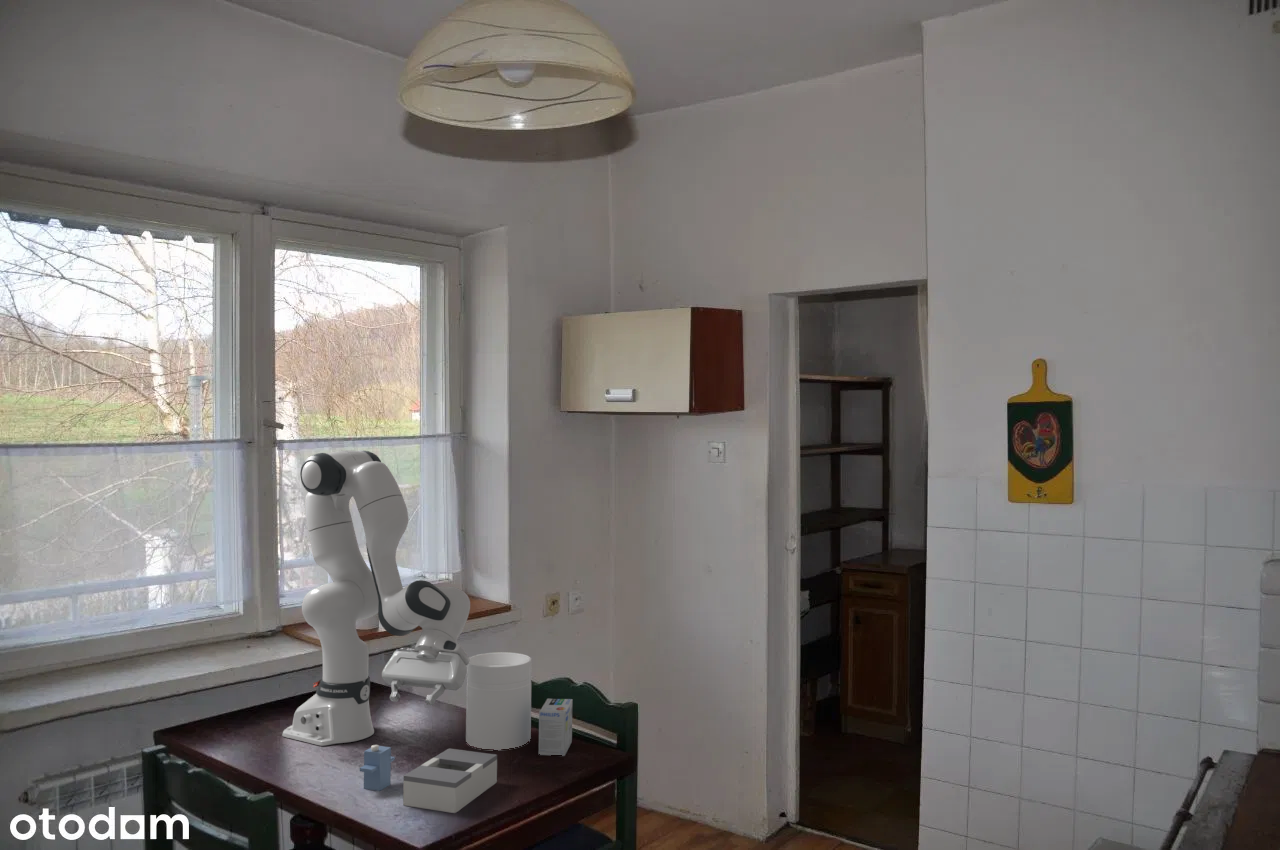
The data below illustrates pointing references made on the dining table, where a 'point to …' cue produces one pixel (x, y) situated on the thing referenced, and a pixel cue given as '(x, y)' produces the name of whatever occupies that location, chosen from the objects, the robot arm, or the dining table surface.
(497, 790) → the dining table surface
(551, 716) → the light bulb box
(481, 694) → the canister
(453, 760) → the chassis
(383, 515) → the robot arm
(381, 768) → the block
